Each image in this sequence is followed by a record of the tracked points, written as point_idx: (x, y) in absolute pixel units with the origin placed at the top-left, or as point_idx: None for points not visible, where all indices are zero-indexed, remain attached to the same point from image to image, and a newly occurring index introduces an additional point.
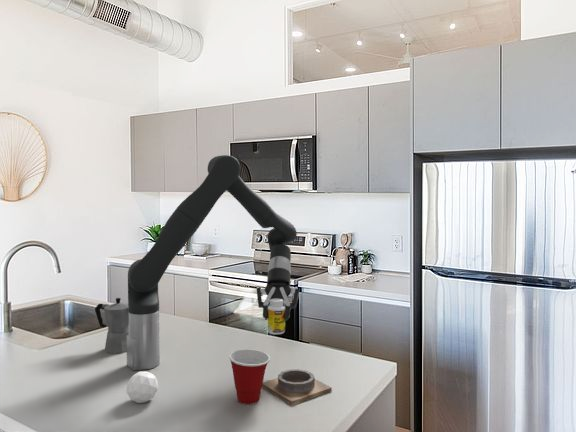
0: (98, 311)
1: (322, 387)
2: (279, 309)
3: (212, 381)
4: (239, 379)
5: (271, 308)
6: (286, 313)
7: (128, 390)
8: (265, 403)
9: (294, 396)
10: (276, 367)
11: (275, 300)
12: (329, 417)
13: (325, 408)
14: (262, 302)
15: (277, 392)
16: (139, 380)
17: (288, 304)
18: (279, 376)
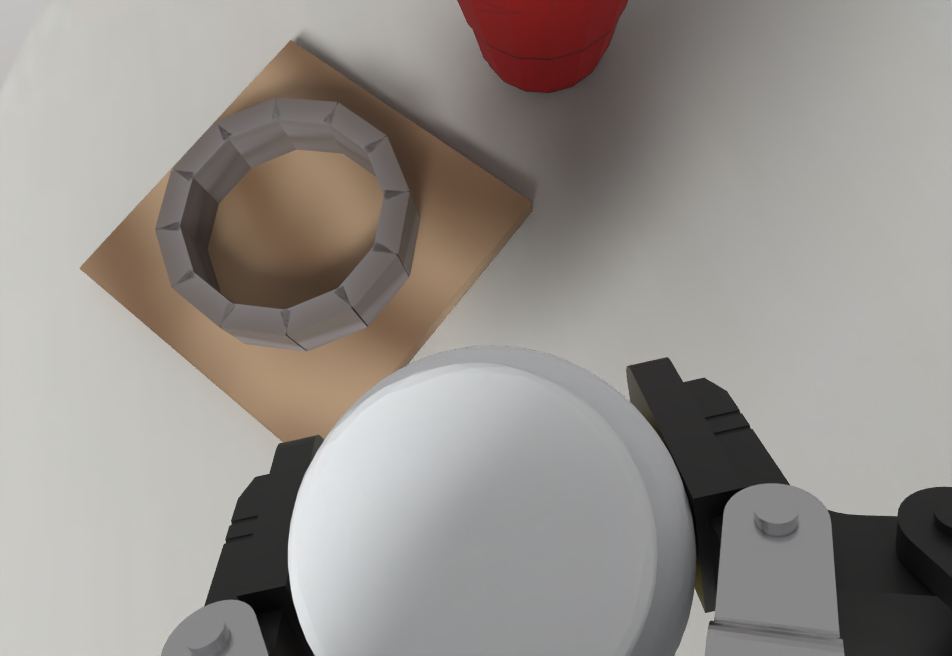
0: None
1: (134, 251)
2: (380, 384)
3: (883, 185)
4: None
5: (550, 356)
6: (281, 480)
7: None
8: (438, 30)
9: (285, 95)
10: None
11: (481, 461)
12: (101, 4)
13: (122, 76)
14: (894, 578)
15: (392, 111)
16: None
17: (197, 631)
18: (393, 175)
